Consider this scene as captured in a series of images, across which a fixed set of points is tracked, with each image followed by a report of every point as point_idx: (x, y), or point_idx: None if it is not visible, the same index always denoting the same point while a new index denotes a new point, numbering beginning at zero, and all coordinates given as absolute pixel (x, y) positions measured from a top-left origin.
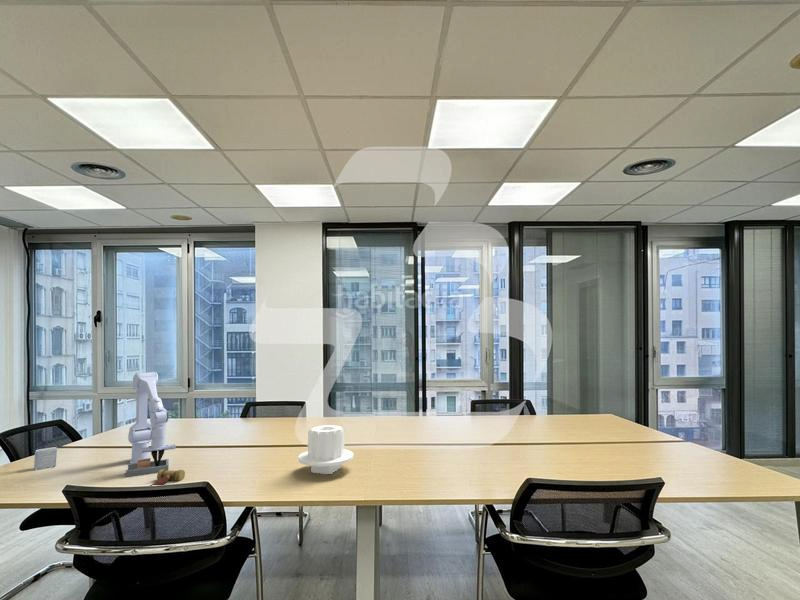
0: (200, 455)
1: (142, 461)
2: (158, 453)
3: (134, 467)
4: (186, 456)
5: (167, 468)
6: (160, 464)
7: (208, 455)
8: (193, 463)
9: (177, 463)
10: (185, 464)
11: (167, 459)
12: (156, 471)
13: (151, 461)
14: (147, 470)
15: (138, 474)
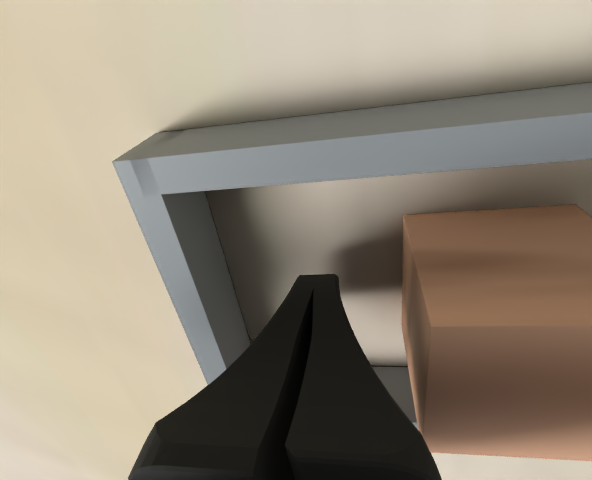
0: (67, 456)
1: (588, 338)
2: (252, 448)
3: None
4: None
5: (149, 143)
6: None
7: (6, 436)
8: (2, 309)
9: (162, 366)
10: (67, 310)
11: None
12: (304, 122)
13: None
14: (449, 113)
15: (585, 87)
